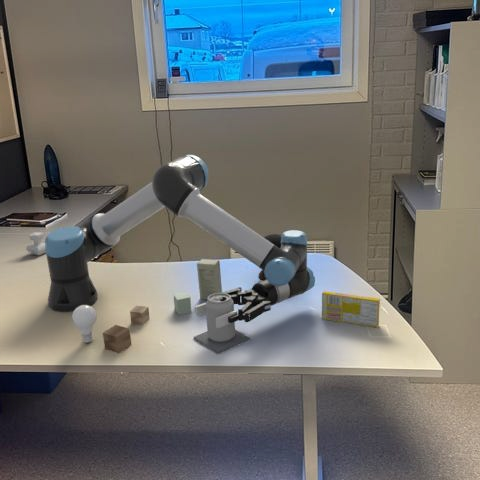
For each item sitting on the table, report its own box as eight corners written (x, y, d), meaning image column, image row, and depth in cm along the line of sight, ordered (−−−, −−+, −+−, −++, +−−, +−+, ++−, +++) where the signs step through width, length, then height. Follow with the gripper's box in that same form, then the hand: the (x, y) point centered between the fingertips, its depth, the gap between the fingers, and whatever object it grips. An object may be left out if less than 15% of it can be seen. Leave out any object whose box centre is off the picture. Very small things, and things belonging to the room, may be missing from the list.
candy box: (379, 325, 158) (380, 298, 155) (377, 328, 156) (379, 301, 153) (323, 315, 164) (323, 290, 161) (321, 319, 162) (321, 293, 159)
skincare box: (222, 295, 180) (220, 259, 176) (217, 300, 176) (215, 264, 172) (204, 293, 182) (201, 258, 178) (198, 298, 178) (196, 263, 174)
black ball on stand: (302, 276, 191) (302, 235, 186) (272, 287, 184) (272, 244, 179) (277, 266, 201) (276, 226, 196) (248, 275, 194) (246, 234, 189)
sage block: (174, 309, 171) (173, 294, 170) (187, 306, 173) (186, 292, 171) (178, 314, 168) (177, 299, 166) (191, 312, 169) (190, 297, 168)
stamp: (41, 249, 229) (38, 229, 226) (53, 251, 226) (50, 231, 223) (24, 256, 221) (21, 236, 218) (37, 258, 218) (33, 238, 215)
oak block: (131, 323, 164) (129, 311, 162) (137, 317, 167) (135, 305, 166) (143, 325, 163) (142, 312, 161) (149, 319, 166) (148, 306, 165)
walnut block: (104, 349, 151) (102, 332, 149) (117, 340, 155) (115, 324, 153) (118, 353, 148) (116, 336, 146) (131, 345, 152) (129, 328, 150)
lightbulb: (78, 337, 157) (73, 301, 153) (101, 335, 157) (96, 300, 154) (74, 348, 151) (68, 312, 147) (98, 347, 151) (93, 310, 148)
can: (232, 344, 149) (229, 303, 145) (204, 342, 150) (201, 302, 146) (237, 331, 156) (235, 291, 152) (211, 329, 157) (209, 290, 153)
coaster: (193, 338, 154) (193, 336, 154) (225, 325, 160) (225, 323, 160) (217, 354, 146) (217, 352, 146) (250, 339, 152) (250, 337, 152)
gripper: (296, 316, 154) (231, 344, 141) (246, 292, 170) (184, 316, 157) (296, 291, 152) (230, 318, 138) (245, 269, 167) (182, 291, 154)
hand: (206, 317), depth 147 cm, fingers open, 8 cm apart
